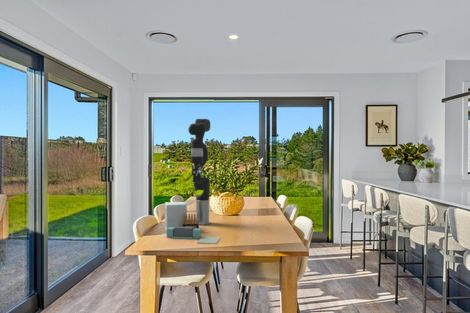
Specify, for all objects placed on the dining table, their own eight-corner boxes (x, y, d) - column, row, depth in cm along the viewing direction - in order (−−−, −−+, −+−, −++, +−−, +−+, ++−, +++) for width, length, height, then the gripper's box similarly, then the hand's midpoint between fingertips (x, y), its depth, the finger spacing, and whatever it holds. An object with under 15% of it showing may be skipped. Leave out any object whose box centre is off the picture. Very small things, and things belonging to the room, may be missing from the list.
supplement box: (183, 226, 226) (183, 201, 226) (186, 230, 214) (187, 204, 214) (164, 227, 222) (164, 202, 222) (166, 232, 210) (166, 205, 210)
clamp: (170, 234, 203) (170, 226, 203) (201, 236, 200) (201, 228, 200) (165, 237, 195) (165, 229, 195) (198, 239, 192) (198, 230, 192)
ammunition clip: (182, 232, 210) (182, 213, 210) (182, 231, 212) (182, 213, 212) (198, 231, 211) (198, 213, 211) (198, 231, 213) (198, 212, 213)
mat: (202, 237, 196) (202, 236, 196) (220, 238, 194) (220, 237, 194) (197, 243, 184) (197, 242, 184) (216, 244, 182) (216, 243, 182)
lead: (176, 236, 200) (176, 226, 200) (193, 236, 199) (193, 227, 199) (174, 237, 196) (174, 227, 196) (191, 238, 195) (191, 228, 195)
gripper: (194, 155, 211) (194, 180, 211) (187, 155, 197) (187, 182, 197) (205, 155, 210) (205, 180, 210) (199, 155, 196) (199, 182, 196)
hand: (196, 181), depth 203 cm, fingers open, 8 cm apart
